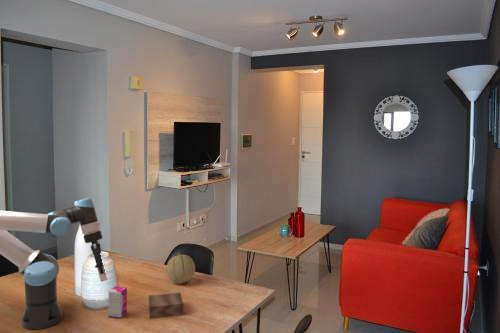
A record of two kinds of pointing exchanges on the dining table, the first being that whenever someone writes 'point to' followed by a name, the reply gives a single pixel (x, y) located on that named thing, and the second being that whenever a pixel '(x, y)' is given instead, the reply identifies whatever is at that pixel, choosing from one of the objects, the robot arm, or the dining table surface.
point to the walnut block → (165, 305)
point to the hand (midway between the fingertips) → (104, 278)
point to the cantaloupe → (180, 268)
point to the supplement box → (117, 302)
